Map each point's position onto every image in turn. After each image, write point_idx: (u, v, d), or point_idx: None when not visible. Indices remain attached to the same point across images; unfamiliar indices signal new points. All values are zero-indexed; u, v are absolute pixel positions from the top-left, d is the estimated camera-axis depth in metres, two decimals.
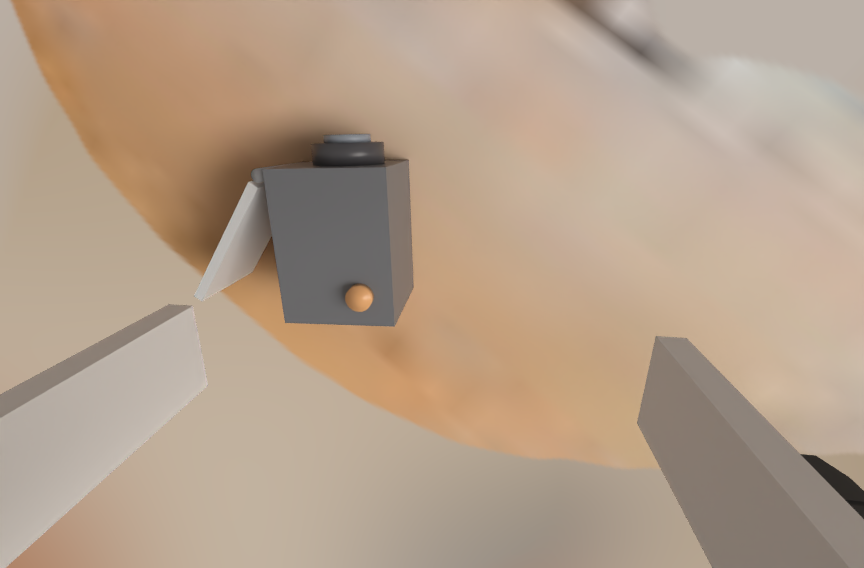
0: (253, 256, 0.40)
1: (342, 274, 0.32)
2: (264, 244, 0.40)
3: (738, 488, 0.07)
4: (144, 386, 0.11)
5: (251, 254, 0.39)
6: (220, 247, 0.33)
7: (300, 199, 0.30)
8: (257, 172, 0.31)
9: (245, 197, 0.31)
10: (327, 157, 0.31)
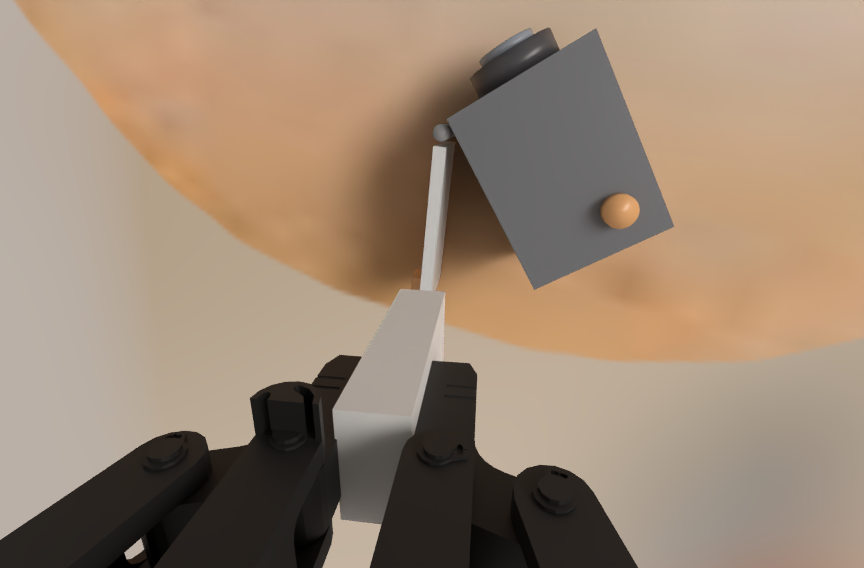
0: (441, 252, 0.34)
1: (584, 195, 0.25)
2: (444, 236, 0.35)
3: None
4: None
5: (441, 249, 0.33)
6: (428, 240, 0.28)
7: (503, 130, 0.24)
8: (439, 129, 0.25)
9: (436, 166, 0.26)
10: (506, 71, 0.25)
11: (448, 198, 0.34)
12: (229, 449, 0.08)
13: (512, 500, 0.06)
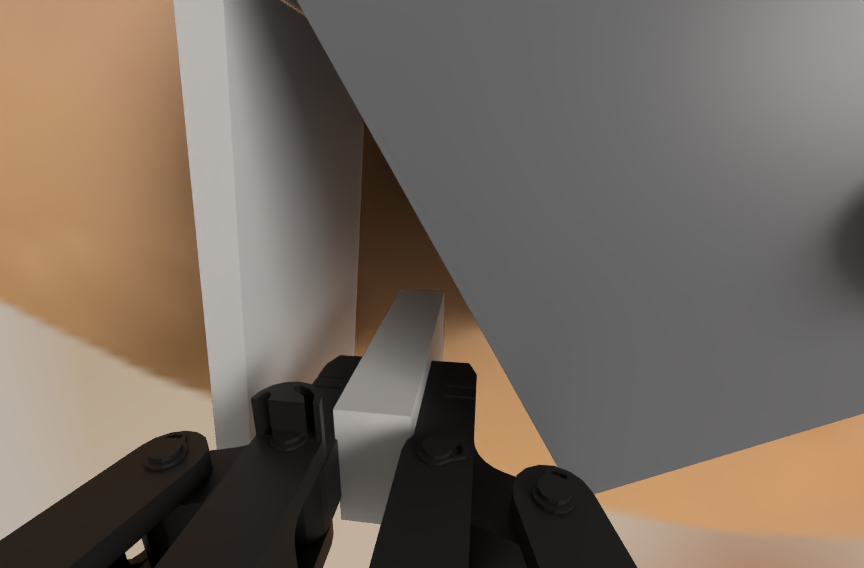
0: (341, 319, 0.15)
1: (820, 163, 0.06)
2: (352, 280, 0.16)
3: None
4: None
5: (333, 314, 0.14)
6: (216, 324, 0.08)
7: None
8: None
9: (196, 51, 0.07)
10: None
11: (356, 193, 0.15)
12: (230, 449, 0.08)
13: (511, 500, 0.06)
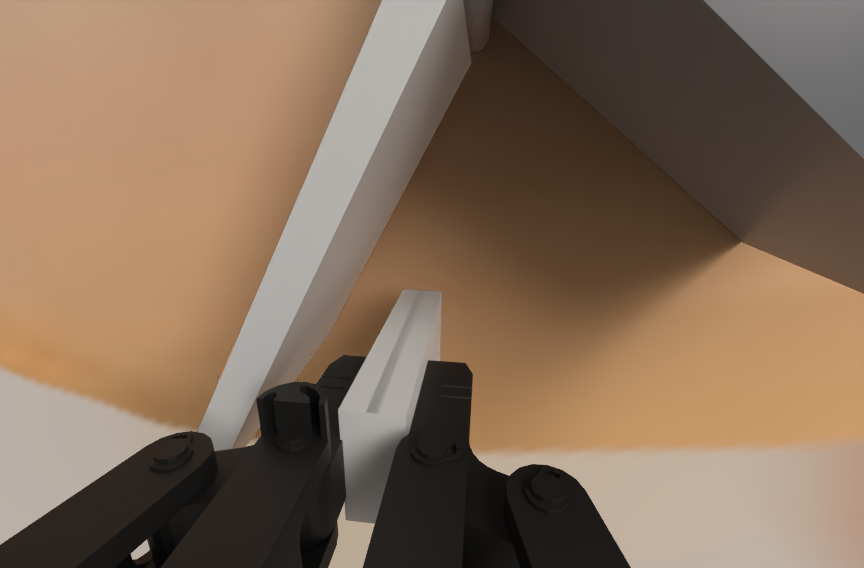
0: (340, 301, 0.14)
1: None
2: (363, 265, 0.15)
3: None
4: None
5: (339, 297, 0.13)
6: (268, 299, 0.08)
7: None
8: None
9: (388, 40, 0.06)
10: None
11: (404, 187, 0.14)
12: (235, 450, 0.08)
13: (505, 500, 0.06)
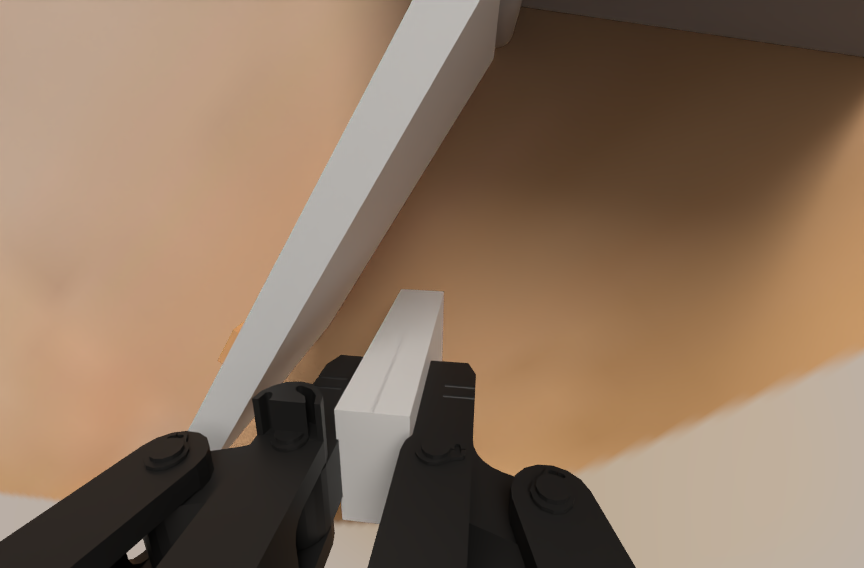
0: (345, 291, 0.14)
1: None
2: (370, 256, 0.15)
3: None
4: None
5: (345, 286, 0.13)
6: (281, 281, 0.08)
7: None
8: None
9: (425, 22, 0.06)
10: None
11: (417, 180, 0.14)
12: (231, 449, 0.08)
13: (510, 500, 0.06)
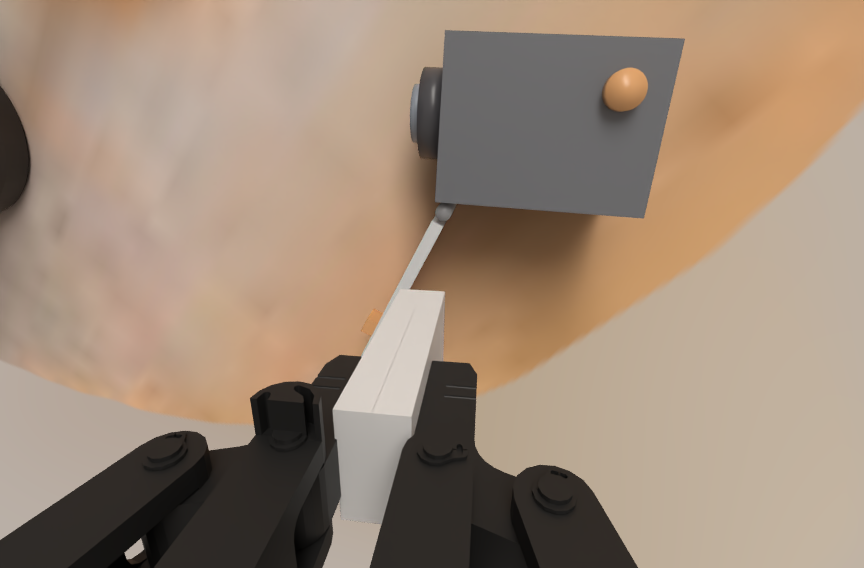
0: None
1: (584, 116, 0.23)
2: None
3: None
4: None
5: None
6: None
7: (475, 160, 0.24)
8: (443, 209, 0.26)
9: (427, 239, 0.27)
10: (432, 126, 0.26)
11: None
12: (229, 449, 0.08)
13: (512, 500, 0.06)
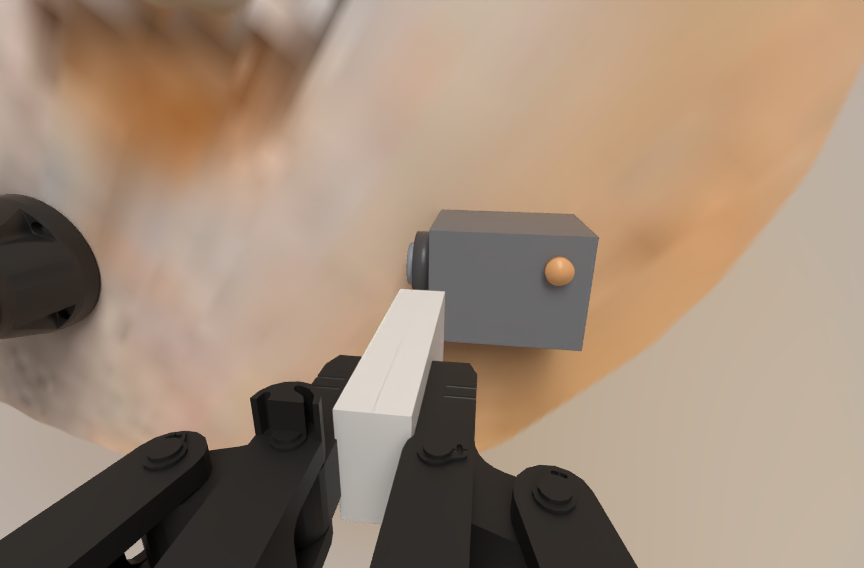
0: None
1: (532, 285, 0.31)
2: None
3: None
4: None
5: None
6: None
7: (456, 312, 0.33)
8: None
9: None
10: (423, 282, 0.34)
11: None
12: (229, 449, 0.08)
13: (512, 500, 0.06)
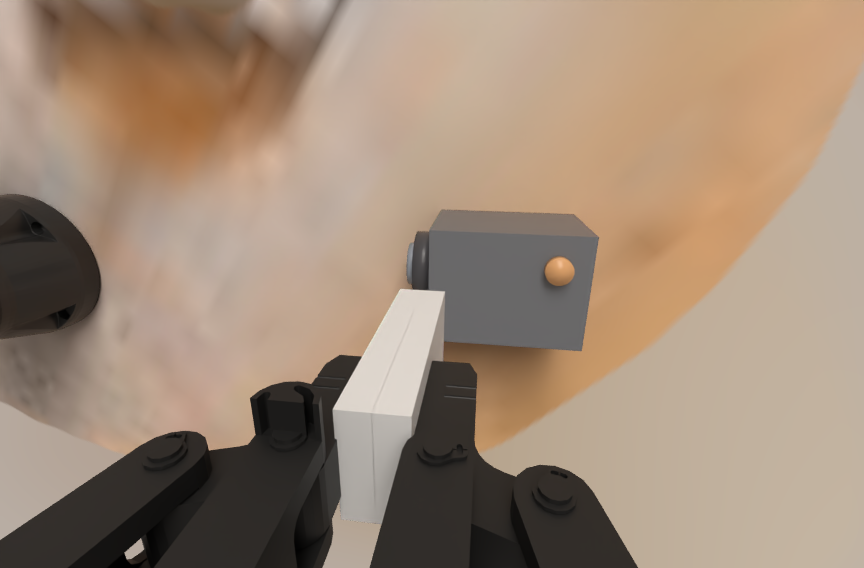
0: None
1: (532, 285, 0.31)
2: None
3: None
4: None
5: None
6: None
7: (456, 312, 0.33)
8: None
9: None
10: (423, 282, 0.34)
11: None
12: (229, 449, 0.08)
13: (512, 500, 0.06)
